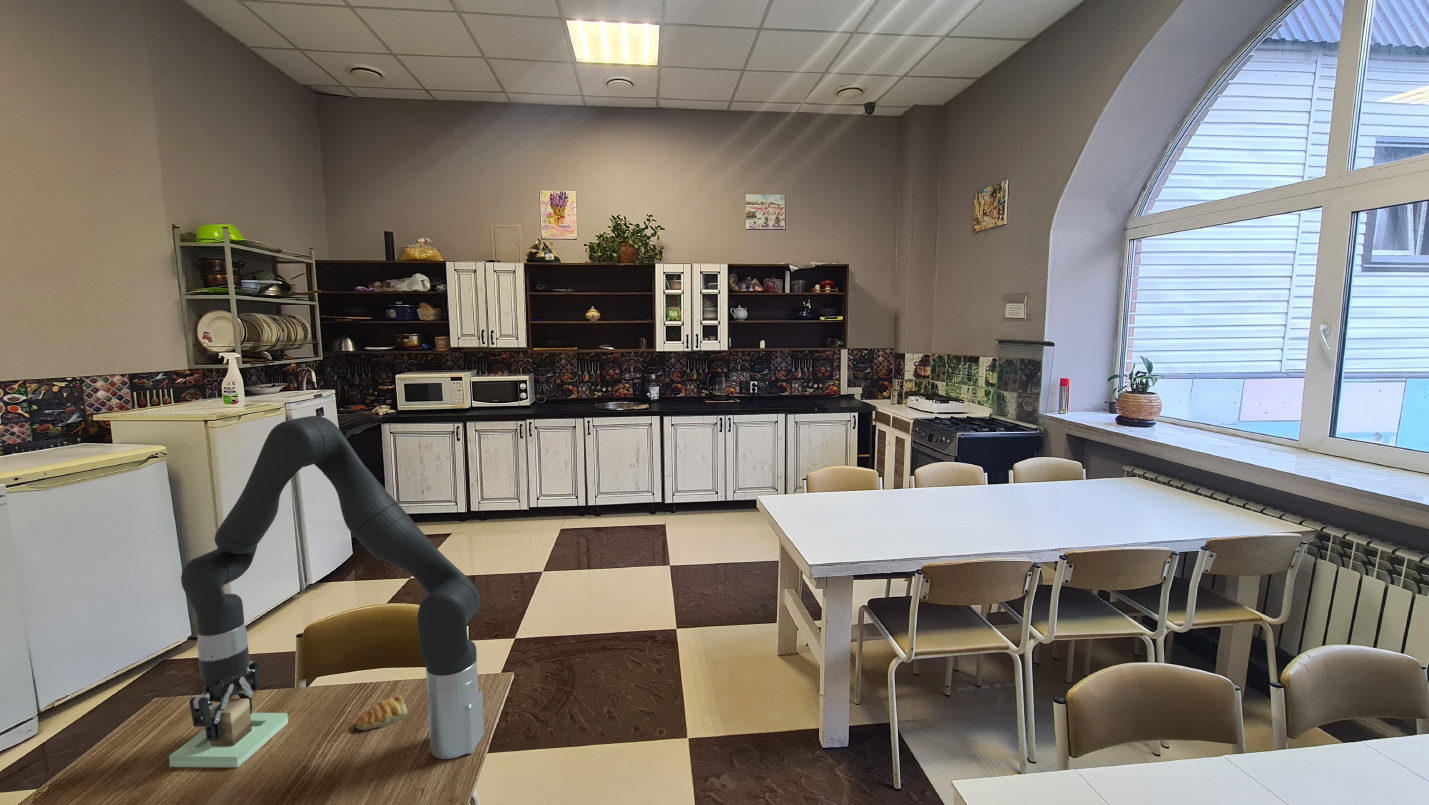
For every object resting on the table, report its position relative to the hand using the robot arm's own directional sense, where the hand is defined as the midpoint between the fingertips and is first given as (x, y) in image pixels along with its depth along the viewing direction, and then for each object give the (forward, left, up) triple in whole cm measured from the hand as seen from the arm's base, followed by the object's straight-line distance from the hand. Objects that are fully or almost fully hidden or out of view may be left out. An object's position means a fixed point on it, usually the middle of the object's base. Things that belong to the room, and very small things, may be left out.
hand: (230, 727), depth 117 cm
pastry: (-26, -8, -4) cm, 28 cm away
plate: (0, 0, -4) cm, 4 cm away
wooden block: (0, 0, -2) cm, 2 cm away
